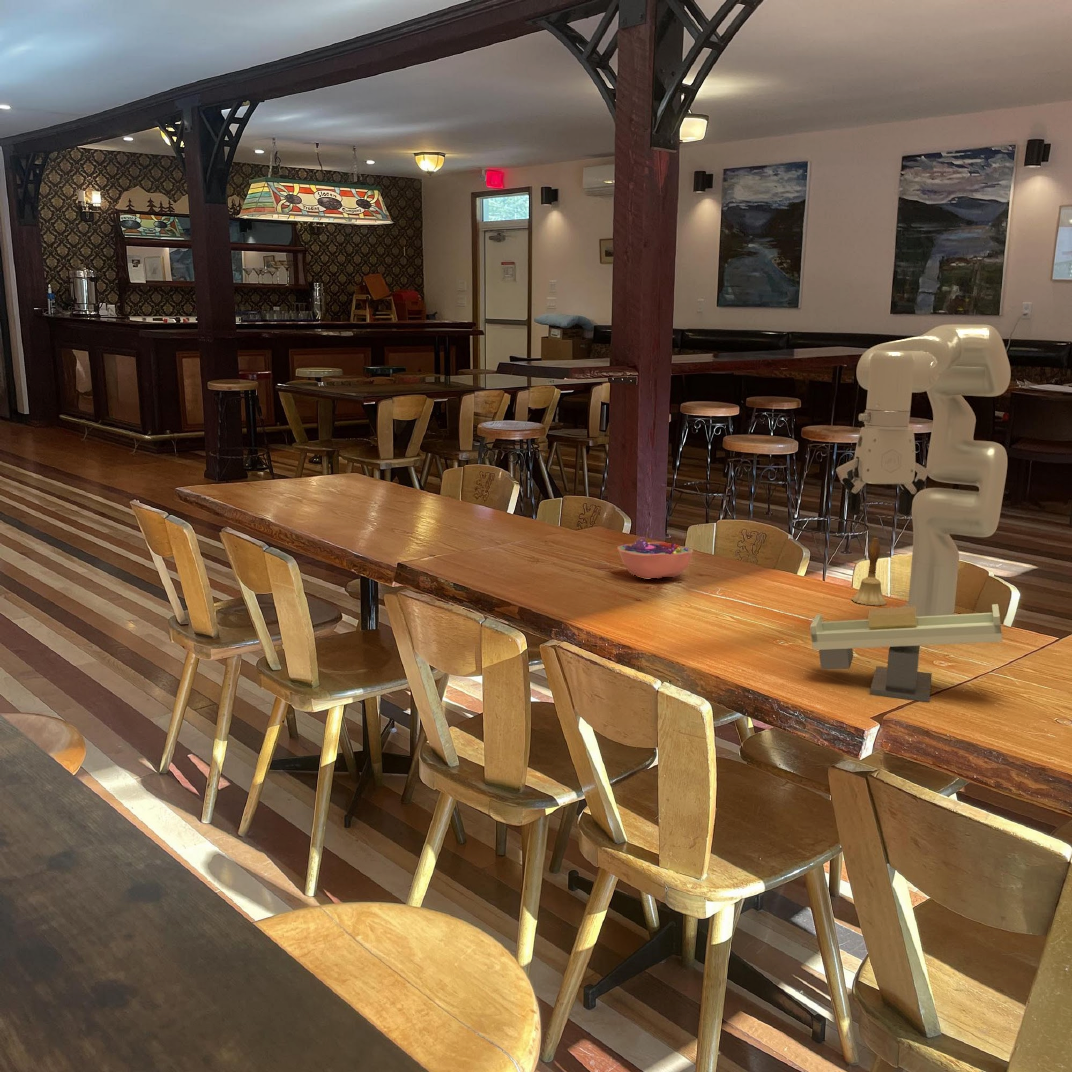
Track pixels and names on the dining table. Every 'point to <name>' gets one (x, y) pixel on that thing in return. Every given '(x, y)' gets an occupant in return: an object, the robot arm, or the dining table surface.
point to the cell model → (655, 558)
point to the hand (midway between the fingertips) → (878, 514)
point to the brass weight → (892, 618)
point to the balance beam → (900, 635)
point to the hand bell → (871, 581)
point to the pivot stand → (902, 676)
